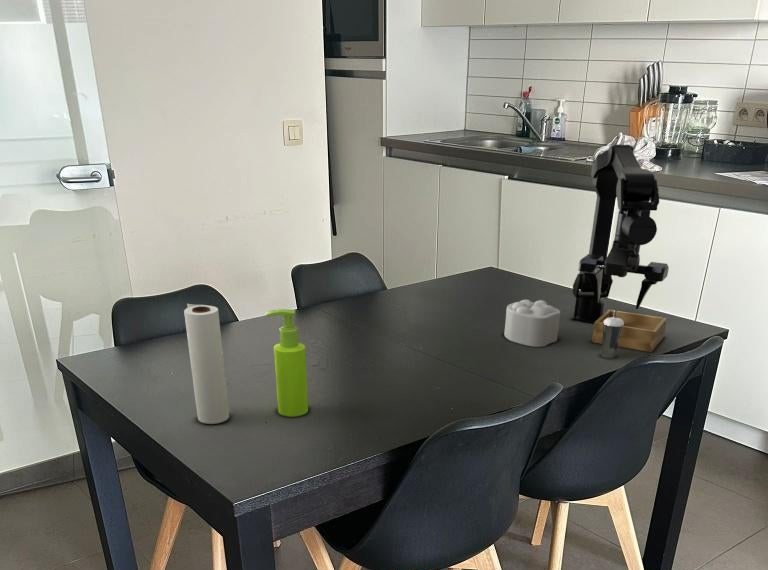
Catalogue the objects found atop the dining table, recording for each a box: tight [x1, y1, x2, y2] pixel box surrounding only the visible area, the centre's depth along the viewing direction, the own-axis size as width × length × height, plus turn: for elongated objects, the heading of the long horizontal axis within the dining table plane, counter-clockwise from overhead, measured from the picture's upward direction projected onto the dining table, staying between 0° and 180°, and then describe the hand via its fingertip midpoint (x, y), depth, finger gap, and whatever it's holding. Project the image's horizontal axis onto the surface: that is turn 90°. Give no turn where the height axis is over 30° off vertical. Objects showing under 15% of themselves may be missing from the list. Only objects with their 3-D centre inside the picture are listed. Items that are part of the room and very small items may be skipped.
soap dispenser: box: [265, 308, 309, 418], centre depth 147 cm, size 6×7×20 cm
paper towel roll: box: [183, 303, 230, 425], centre depth 144 cm, size 7×6×21 cm
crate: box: [591, 309, 668, 353], centre depth 190 cm, size 15×13×5 cm
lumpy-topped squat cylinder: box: [503, 299, 561, 348], centre depth 190 cm, size 10×13×9 cm
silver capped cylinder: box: [601, 309, 624, 359], centre depth 179 cm, size 4×5×10 cm
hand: (616, 305), depth 177 cm, fingers open, 9 cm apart
